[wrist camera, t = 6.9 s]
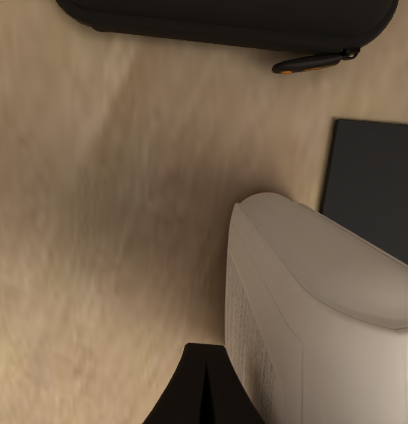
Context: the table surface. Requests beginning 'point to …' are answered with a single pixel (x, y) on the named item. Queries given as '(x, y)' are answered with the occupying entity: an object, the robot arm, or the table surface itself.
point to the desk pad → (369, 183)
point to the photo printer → (314, 317)
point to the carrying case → (248, 24)
